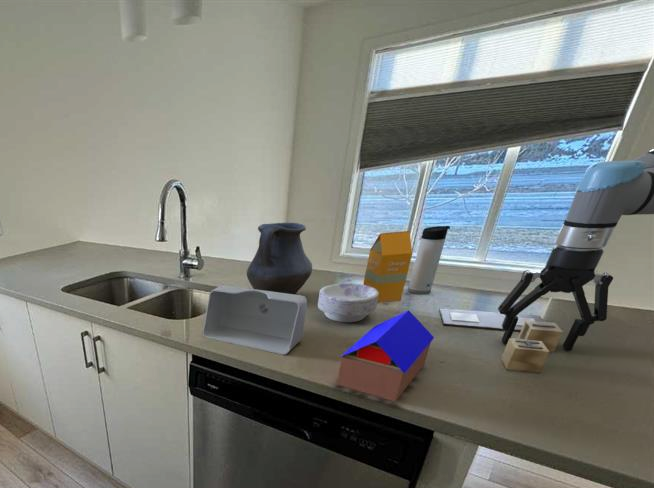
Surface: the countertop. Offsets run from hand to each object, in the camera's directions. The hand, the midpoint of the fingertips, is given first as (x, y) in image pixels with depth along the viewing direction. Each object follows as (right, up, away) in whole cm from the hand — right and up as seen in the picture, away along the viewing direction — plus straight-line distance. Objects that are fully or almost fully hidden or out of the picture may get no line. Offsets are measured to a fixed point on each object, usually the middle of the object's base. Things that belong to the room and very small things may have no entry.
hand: (534, 345), depth 93 cm
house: (-39, -7, -5) cm, 40 cm away
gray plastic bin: (-60, +5, +19) cm, 63 cm away
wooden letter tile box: (0, 0, 0) cm, 0 cm away
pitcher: (-47, +19, +42) cm, 66 cm away
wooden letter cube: (-10, -5, -7) cm, 13 cm away
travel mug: (-1, +21, +37) cm, 43 cm away
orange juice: (-15, +19, +35) cm, 43 cm away
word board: (+1, +8, +13) cm, 15 cm away
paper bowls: (-32, +10, +24) cm, 42 cm away
